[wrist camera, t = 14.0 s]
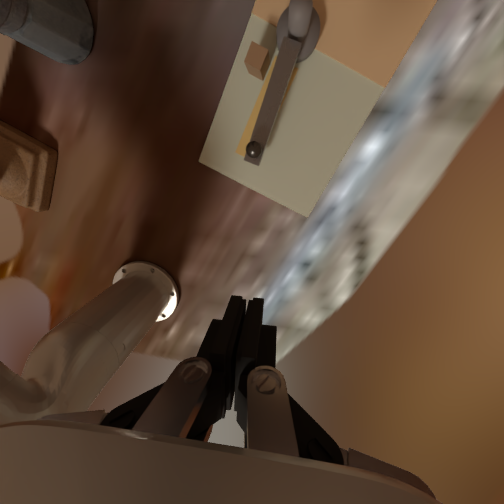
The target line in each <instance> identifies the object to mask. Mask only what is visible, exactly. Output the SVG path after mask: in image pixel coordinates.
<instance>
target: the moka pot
mask: <svg viewBox="0 0 504 504" xmlns="http://www.w3.org/2000/svg"><path fill="white" fill-rule="evenodd" d="M0 33H1V34H3V35H7V36H9V37H10V38H12V39H14V40H16V41H18V42H20V43H22V44H24V45H26V46H28V47H30V48H32V49H34V50H36V51H38V52H39V53H41V54H43V55H45V56H47V57H49V58H51V59H53V60H55V61H58V62H60V63H65V64H78V63H80V62H82V61H83V60H84V59H85V58H86V57H87V56H88V55H89V53H90V50H91V48H92V42H93V33H94V31H93V24H92V18H91V15H90V12H89V10H88V7H87V5H86V3H85V0H0Z"/></svg>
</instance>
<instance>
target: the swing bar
mask: <svg viewBox="0 0 504 504" xmlns="http://www.w3.org/2000/svg"><path fill="white" fill-rule="evenodd" d="M301 44H302V43H300V42H298V41H295V40H293V39H290V38H288V37H285V36H284V37H283V40H282V44H281V47H280V50H279V53H278V56H277V59H276V62H275V65H274V68H273V71H272V74H271V77H270V80H269V83H268V86H267V90H266V93H265V96H264V99H263V102H262V105H261V108H260V111H259V114H258V117H257V120H256V123H255V126H254V129H253V133H252V136H251V139H250V142H249V143H248V144H247V146H246V154H245V157H244V161H247V162H249V163H252V164H254V165H257V166H259V165H260V163H261V160H262V157H263V154H264V151H265V149H266V146H267V143H268V140H269V137H270V134H271V132H272V129H273V126H274V123H275V120H276V117H277V115H278V112H279V109H280V106H281V103H282V101H283V98H284V95H285V92H286V89H287V86H288V84H289V81H290V78H291V75H292V72H293V69H294V67H295V64H296V61H297V58H298V55H299V53H300V50H301Z"/></svg>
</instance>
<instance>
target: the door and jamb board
mask: <svg viewBox="0 0 504 504" xmlns="http://www.w3.org/2000/svg"><path fill="white" fill-rule="evenodd" d="M436 2H437V0H256V2H255V4H254V7H253V10H252V14H251V17H250V20H249V23H248V25H247V28H246V31H245V34H244V36H243V39H242V42H241V45H240V47H239V50H238V53H237V56H236V59H235V61H234V64H233V67H232V70H231V72H230V75H229V78H228V81H227V83H226V86H225V89H224V92H223V95H222V97H221V100H220V103H219V106H218V108H217V111H216V114H215V117H214V120H213V122H212V125H211V128H210V131H209V133H208V136H207V139H206V142H205V144H204V147H203V150H202V153H201V156H200V158H199V161H198V162H200V163H202V164H204V165H206V166H208V167H210V168H212V169H214V170H216V171H218V172H219V173H221V174H223V175H225V176H227V177H229V178H231V179H233V180H235V181H237V182H239V183H241V184H243V185H245V186H247V187H249V188H251V189H252V190H254V191H256V192H258V193H260V194H262V195H264V196H266V197H268V198H270V199H272V200H274V201H276V202H278V203H280V204H282V205H283V206H285V207H287V208H289V209H291V210H293V211H295V212H297V213H299V214H301V215H303V216H305V217H307V218H308V216H309V214H310V213H311V211H312V209H313V208H314V206H315V204H316V203H317V201H318V199H319V198H320V196H321V194H322V193H323V191H324V189H325V187H326V186H327V184H328V182H329V181H330V179H331V177H332V176H333V174H334V172H335V171H336V169H337V167H338V166H339V164H340V162H341V161H342V159H343V157H344V156H345V154H346V152H347V151H348V149H349V147H350V146H351V144H352V142H353V140H354V139H355V137H356V135H357V134H358V132H359V130H360V129H361V127H362V125H363V124H364V122H365V120H366V119H367V117H368V115H369V114H370V112H371V110H372V109H373V107H374V105H375V104H376V102H377V100H378V98H379V97H380V95H381V93H382V92H383V90H384V88H385V87H386V86H387V84H388V82H389V81H390V79H391V77H392V76H393V74H394V72H395V71H396V69H397V67H398V66H399V64H400V62H401V61H402V59H403V57H404V55H405V54H406V52H407V50H408V49H409V47H410V45H411V44H412V42H413V40H414V39H415V37H416V35H417V34H418V32H419V30H420V29H421V27H422V25H423V24H424V22H425V20H426V19H427V17H428V15H429V14H430V12H431V10H432V9H433V7H434V5H435V3H436ZM284 36H285V37H288V38H290V39H293V40H295V41H298V42H300V43H302V44H301V50H300V53H299V55H298V58H297V61H296V64H295V67H294V69H293V72H292V75H291V78H290V81H289V84H288V86H287V89H286V92H285V95H284V98H283V101H282V103H281V106H280V109H279V112H278V115H277V117H276V120H275V123H274V126H273V129H272V132H271V134H270V137H269V140H268V143H267V146H266V149H265V151H264V154H263V157H262V160H261V163H260V165H259V166H257V165H254V164H252V163H249V162H247V161H244V157H245V154H246V146H247V144H248V143H249V142H250V139H251V136H252V133H253V129H254V126H255V123H256V120H257V117H258V114H259V111H260V108H261V105H262V102H263V99H264V96H265V93H266V90H267V86H268V83H269V80H270V77H271V74H272V71H273V68H274V65H275V62H276V59H277V56H278V53H279V50H280V47H281V44H282V40H283V37H284Z"/></svg>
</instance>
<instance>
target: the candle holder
mask: <svg viewBox="0 0 504 504" xmlns="http://www.w3.org/2000/svg"><path fill="white" fill-rule="evenodd" d="M57 160H58V152H57V151H56V150H54V149H53V148H51V147H49V146H48V145H46V144H44V143H42V142H40V141H38V140H37V139H35V138H33V137H31V136H29V135H27V134H26V133H24V132H22V131H20V130H18V129H16V128H14V127H13V126H11V125H9V124H7V123H5V122H3V121H1V120H0V196H2V197H4V198H6V199H8V200H10V201H12V202H14V203H16V204H18V205H21V206H23V207H26V208H30V209H32V210H34V211H36V212H41V211H46V210H48V209H49V206H50V202H51V196H52V190H53V185H54V179H55V173H56V167H57Z"/></svg>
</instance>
